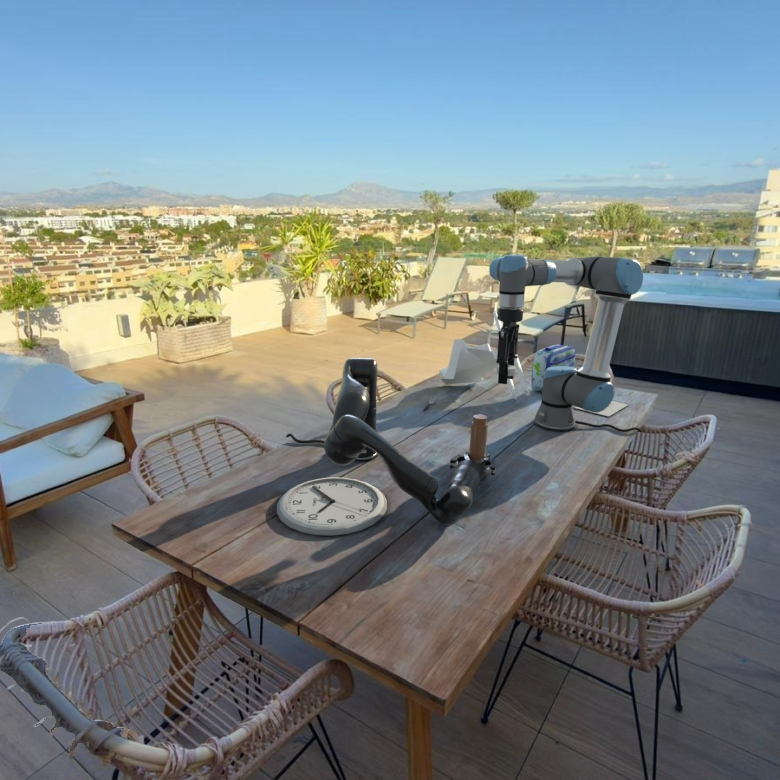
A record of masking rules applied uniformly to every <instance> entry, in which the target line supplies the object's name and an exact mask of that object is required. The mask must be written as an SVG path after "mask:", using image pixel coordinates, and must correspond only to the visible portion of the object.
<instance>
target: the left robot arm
mask: <svg viewBox="0 0 780 780" xmlns="http://www.w3.org/2000/svg"><path fill="white" fill-rule="evenodd" d="M378 369H379V368H378V362H377V360H376V359H375V358H371V357H370V358H369V357H350V358H347V359H346V360H345V362H344V363H343V366H342V373H341V382H340V383H341V384H340V387H339V390H338V394H337V396H336V401H335V406H334V412H333V416H332V420H331V425H330V428H329V430H328V432H327V435H326V436H325V438H324V440H323V439H310V440H309V439H308V440H307V439H305V440H303V439H298V438H296V437H295V436H294V435H293V433H287V434H286V436H285V437H286V438H291V439H292V440H293V441H294V442H296V443H298V444H315V443H316V444H317V443H318V444H323V449H324V453H325V454H326V456H327V458H329V460H330V461H331V462H332V463H334V464H336V465H339V466H348V465H351V464H353V463H354V462H355V461H358V462H365V461H371V460H373V459H375V458H376V457H377V455H378V457H380V459H381V461H382V462H383V464H384V466H385V468H386V470H387V472H388V474H389V476H390V478H391V480H392V481H393V483H394V484H395V485H396V486H397V488H399V490H401V491H403V492H405V493H406V494H408V495H409V496H411V497H412V498H414V499H415V500H417V501H418V502H419V503H420V504H421V505H422V506H423V507H424V508H425V509H426V510H427V511H428V512H429V514H430V515H431V516H432V517H433V518H434V519H435V520H436V522H438V523H440V524H441V525H446V526H451V525H454V524H455V523H456V522H457V521H459V519H460V518H462V516H464V515H465V514H466V512H467V511H468V510H469V509H470V508H471V507H472V505H473V502H474V496H473V495H474V493H475V491H476V490H477V489H478V487H479V485H480V482H481V480H482V479H483V478H482V476H483V475H484V476H485V475H486V473H487V474H490V476H496V461H495V459H493V458H491V457H492V456H491V454H490V453H488V452H486V453H485V457H484V459H482V458H481V459H480V460H478V461H474V460H470V459H469V451H470V449H468V450H467V451H465V453H464V454H463V455H462V453H457V454H456V455H454V456H453V457H452V458H451V459H449V469H454V468H456V469H455V470H454V471H453V473H452V475H451V479H450V480H449V482H448V483H447V486H446V490H445V491H444V492H443V493H442V495H441V496H439V498H438V497H437V496H436V493H437V492H438V488H439V481H438V479H437V478H436V477H434V476H433V474H432V475H431V474H430V473H429V472H427V471H425V470H424V469H423V468H421V467H419V466H418V465H416V464H415V463H413V462H412V461H411V460H409V459H408V458H407V457H406V456H405V455H403V454H402V452H399V450H398V449H397V448H395V447H394V446H393V445H392V444H391V443H390V442H388V441H387V440H386V439H385V438H384V437H383V436H382V435H381V434H379V433H378V432H377V386H378ZM481 478H482V479H481Z"/></svg>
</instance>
